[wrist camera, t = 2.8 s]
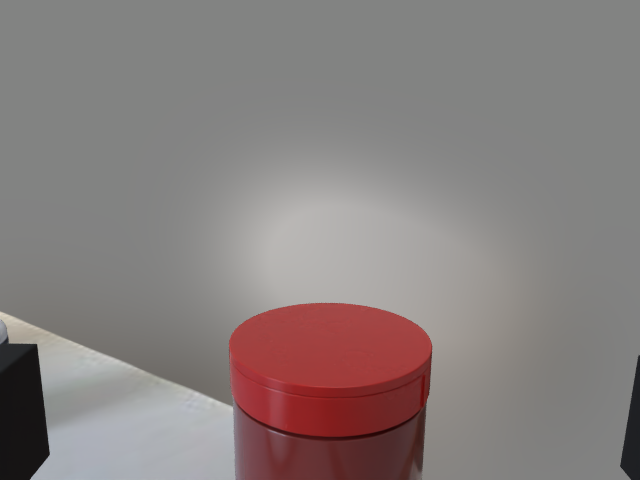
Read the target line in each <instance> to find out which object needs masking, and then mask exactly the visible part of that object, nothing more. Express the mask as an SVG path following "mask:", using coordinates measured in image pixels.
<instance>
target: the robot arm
mask: <svg viewBox="0 0 640 480" xmlns="http://www.w3.org/2000/svg"><path fill="white" fill-rule="evenodd" d="M49 455H50V452H49V443H48V435H47V426H46V417H45V409H44V400H43V391H42V382H41V374H40V365H39V356H38V348H37V344H8V343H2V344H1V345H0V480H30V479H31V477H32V476H33V475H34V474H35V472H36V471H37V470H38V469H39V468H40V466H41V465H42V464H43V463H44V461H45V460H46V459H47V458H48V456H49ZM620 467H621V468H622V469H623V470H624V471H625V473H626V474H627V475H628V476H629V477H630V479H631V480H640V355H639V356H638V362H637V367H636V374H635V380H634V386H633V392H632V398H631V404H630V410H629V417H628V422H627V428H626V435H625V441H624V446H623V452H622V458H621V465H620Z"/></svg>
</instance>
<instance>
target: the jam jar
mask: <svg viewBox="0 0 640 480" xmlns="http://www.w3.org/2000/svg"><path fill="white" fill-rule="evenodd" d="M426 403H427V401H426V402H425V406H424V407H422V408H421V409H420V410H419V411H418V412H417V413H416V414H415V415H414V416H412V417H411V418H409V419H408V420H406V421H404V422H402V423H400V424H398V425H396V426H393V427H391V428H388V429H385V430H382V431H378V432H374V433H369V434H363V435H357V436H344V437H323V436H310V435H304V434H297V433H293V432H288V431H285V430H281V429H278V428H275V427H272V426H269V425H267V424H265V423H263V422H261V421H258V420H257V419H255V418H253V417H252V416H250V415H249V414H248V413H246V412H245V411H244V410H243V409H242V408H241V407H240V406H239V405H238V404H237V402H236V401H235V399H234V397H233V415H234V447H235V479H236V480H422V467H423V466H422V465H423V450H424V433H425V419H426Z"/></svg>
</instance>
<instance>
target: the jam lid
mask: <svg viewBox="0 0 640 480" xmlns="http://www.w3.org/2000/svg"><path fill="white" fill-rule="evenodd" d="M229 354H230V355H229V359H230V387H231V392H232V395H233V397H234V399H235V401H236V402H237V404H238V405H239V406H240V407H241V408H242V409H243V410H244V411H245V412H246V413H248V414H249V415H250V416H252V417H253V418H255V419H257V420H258V421H261V422H263V423H265V424H267V425H269V426H272V427H275V428H278V429H281V430H285V431H288V432H293V433H297V434H304V435H310V436H323V437H344V436H357V435H363V434H369V433H374V432H378V431H382V430H385V429H388V428H391V427H393V426H396V425H398V424H400V423H402V422H404V421H406V420H408V419H409V418H411V417H412V416H414V415H415V414H416V413H417V412H418V411H419V410H420V409H421V408H422V407H424V406H425V402H426V401H427V398H428V395H429V389H430V374H431V358H432V344H431V340H430V338H429V336H428V335H427V333H426V332H425V331H424V330H423V329H422V328H421V327H419V326H418V325H416V324H415V323H413V322H412V321H410V320H408V319H406V318H404V317H402V316H399V315H396V314H394V313H391V312H388V311H384V310H381V309H377V308H372V307H367V306H360V305H353V304H342V303H311V304H300V305H293V306H287V307H282V308H278V309H274V310H270V311H267V312H264V313H261V314H258V315H256V316H254V317H252V318H250V319H248V320H246V321H245V322H244V323H242V324H241V325H239V326H238V327H237V328H236V329H235V331H234V332H233V333H232V335H231V338H230V341H229Z"/></svg>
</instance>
